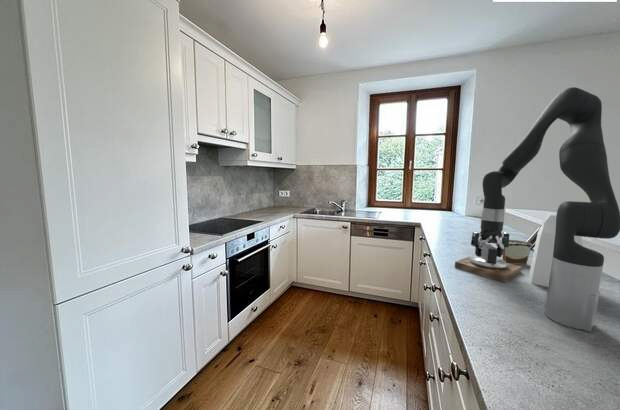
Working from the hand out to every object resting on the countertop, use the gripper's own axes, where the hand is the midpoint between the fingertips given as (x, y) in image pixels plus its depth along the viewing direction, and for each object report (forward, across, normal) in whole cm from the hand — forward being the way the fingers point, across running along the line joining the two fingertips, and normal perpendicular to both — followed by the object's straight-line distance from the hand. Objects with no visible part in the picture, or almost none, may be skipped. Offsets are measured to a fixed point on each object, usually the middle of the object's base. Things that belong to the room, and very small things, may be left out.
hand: (488, 256), depth 103 cm
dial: (+3, 0, 0) cm, 3 cm away
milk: (+6, -16, +12) cm, 21 cm away
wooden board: (+6, 0, 0) cm, 6 cm away
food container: (+6, -19, -11) cm, 23 cm away
